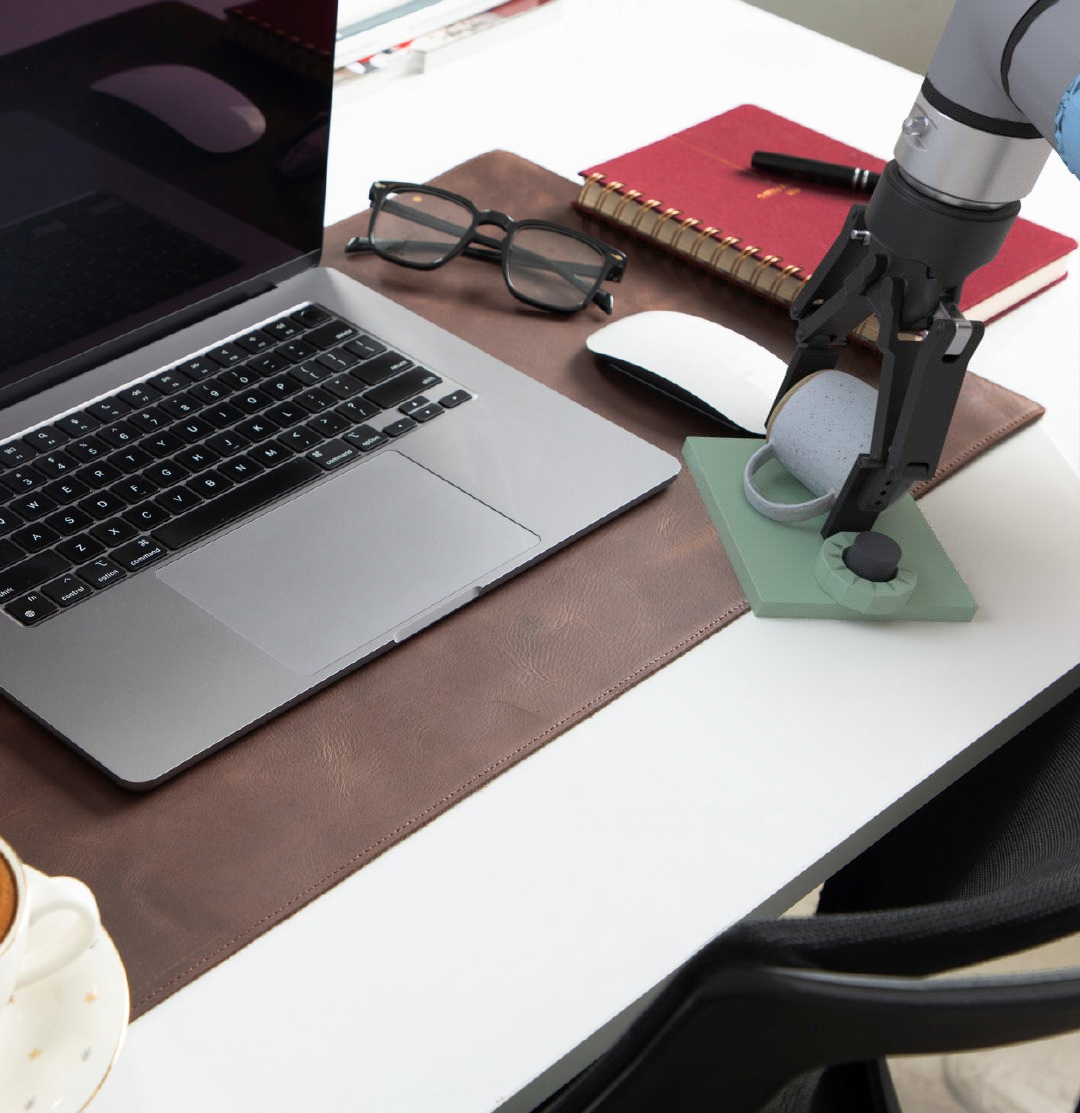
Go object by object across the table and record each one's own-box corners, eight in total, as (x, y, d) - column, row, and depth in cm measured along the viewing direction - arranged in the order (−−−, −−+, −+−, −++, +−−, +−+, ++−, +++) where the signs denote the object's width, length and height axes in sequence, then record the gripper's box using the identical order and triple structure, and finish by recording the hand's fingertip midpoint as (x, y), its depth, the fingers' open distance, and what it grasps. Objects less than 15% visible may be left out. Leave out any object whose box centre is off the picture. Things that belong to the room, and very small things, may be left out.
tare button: (898, 583, 88) (909, 563, 87) (854, 582, 88) (865, 561, 87) (880, 552, 90) (891, 531, 89) (837, 551, 90) (848, 530, 89)
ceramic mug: (816, 435, 101) (858, 343, 96) (910, 505, 96) (958, 413, 91) (707, 478, 96) (744, 384, 91) (799, 554, 91) (843, 460, 86)
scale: (975, 633, 90) (997, 598, 88) (759, 628, 88) (776, 593, 86) (872, 458, 102) (889, 424, 100) (680, 451, 100) (694, 417, 98)
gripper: (820, 81, 89) (706, 375, 104) (982, 287, 72) (819, 602, 87) (935, 89, 90) (806, 379, 105) (1121, 294, 73) (936, 605, 88)
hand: (812, 481), depth 96 cm, fingers open, 10 cm apart
